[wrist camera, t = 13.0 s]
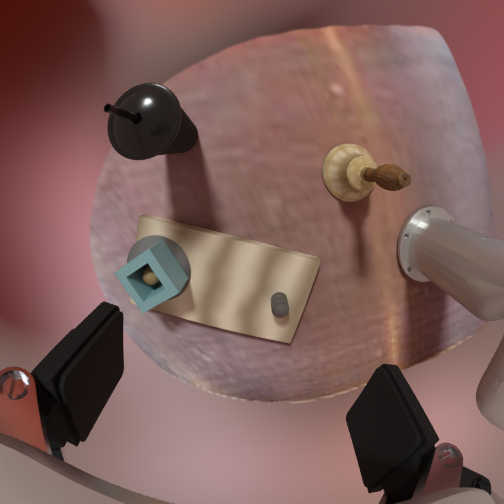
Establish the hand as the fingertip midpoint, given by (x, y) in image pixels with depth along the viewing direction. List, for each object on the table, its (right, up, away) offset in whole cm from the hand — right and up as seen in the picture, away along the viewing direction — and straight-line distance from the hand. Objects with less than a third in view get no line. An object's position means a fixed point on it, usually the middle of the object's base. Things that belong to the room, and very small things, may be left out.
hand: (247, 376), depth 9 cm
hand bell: (+14, +15, +27) cm, 34 cm away
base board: (-5, 0, +32) cm, 32 cm away
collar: (-13, +2, +29) cm, 32 cm away
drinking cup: (-10, +20, +26) cm, 34 cm away
